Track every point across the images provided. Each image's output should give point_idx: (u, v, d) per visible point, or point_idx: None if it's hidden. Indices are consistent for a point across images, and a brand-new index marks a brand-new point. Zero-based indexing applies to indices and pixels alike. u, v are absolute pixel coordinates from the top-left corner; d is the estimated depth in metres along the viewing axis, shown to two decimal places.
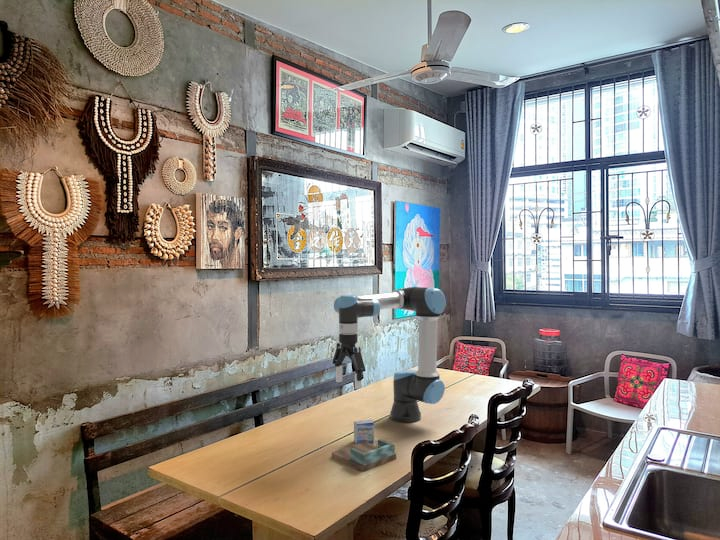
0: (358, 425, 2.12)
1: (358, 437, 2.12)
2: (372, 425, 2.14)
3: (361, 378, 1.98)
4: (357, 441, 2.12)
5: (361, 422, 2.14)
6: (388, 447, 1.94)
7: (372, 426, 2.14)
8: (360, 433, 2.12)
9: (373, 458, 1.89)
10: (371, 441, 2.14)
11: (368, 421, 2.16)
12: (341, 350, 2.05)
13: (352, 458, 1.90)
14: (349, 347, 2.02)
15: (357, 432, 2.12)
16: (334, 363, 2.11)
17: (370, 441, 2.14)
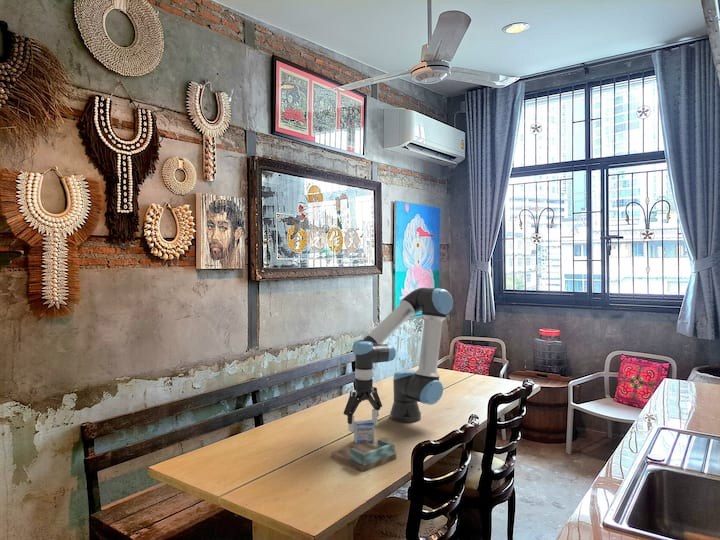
0: (358, 425, 2.12)
1: (358, 437, 2.12)
2: (372, 425, 2.14)
3: (349, 421, 2.09)
4: (357, 441, 2.12)
5: (361, 422, 2.14)
6: (388, 447, 1.94)
7: (372, 426, 2.14)
8: (360, 433, 2.12)
9: (373, 458, 1.89)
10: (371, 441, 2.14)
11: (368, 421, 2.16)
12: None
13: (352, 458, 1.90)
14: None
15: (357, 432, 2.12)
16: None
17: (370, 441, 2.14)
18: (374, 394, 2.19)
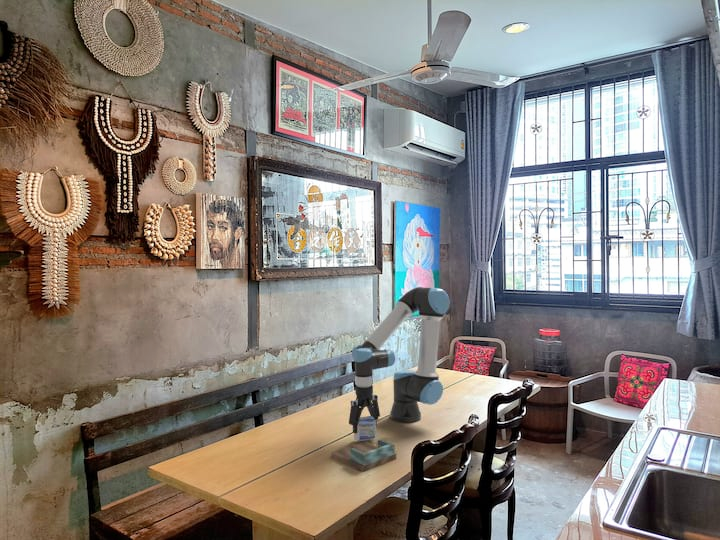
0: (359, 421, 2.13)
1: None
2: (373, 421, 2.14)
3: (354, 431, 2.11)
4: None
5: (362, 418, 2.14)
6: (388, 447, 1.94)
7: (373, 422, 2.14)
8: (361, 429, 2.13)
9: (373, 458, 1.89)
10: (372, 437, 2.14)
11: (368, 417, 2.16)
12: None
13: (352, 458, 1.90)
14: None
15: None
16: None
17: (371, 437, 2.14)
18: (374, 402, 2.19)
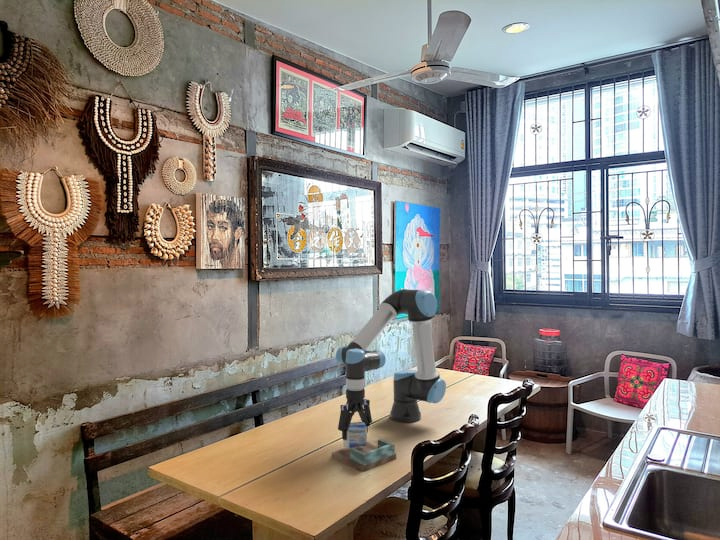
0: (349, 427, 1.98)
1: (349, 440, 1.98)
2: (364, 427, 2.00)
3: (344, 437, 1.96)
4: None
5: (352, 424, 2.00)
6: (388, 447, 1.94)
7: (364, 428, 2.00)
8: (351, 436, 1.98)
9: (373, 458, 1.89)
10: (363, 444, 2.00)
11: (359, 423, 2.01)
12: None
13: (352, 458, 1.90)
14: None
15: None
16: None
17: (362, 444, 2.00)
18: (366, 407, 2.04)
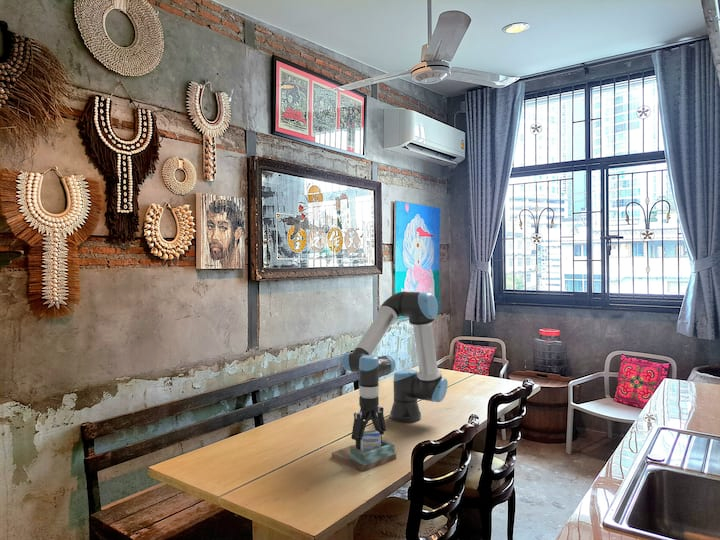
0: (362, 436, 1.92)
1: None
2: (378, 436, 1.94)
3: (357, 447, 1.91)
4: None
5: (366, 432, 1.94)
6: (388, 447, 1.94)
7: (378, 437, 1.94)
8: (365, 445, 1.93)
9: (373, 458, 1.89)
10: None
11: (373, 431, 1.96)
12: None
13: (352, 458, 1.90)
14: None
15: None
16: None
17: None
18: (379, 415, 1.98)
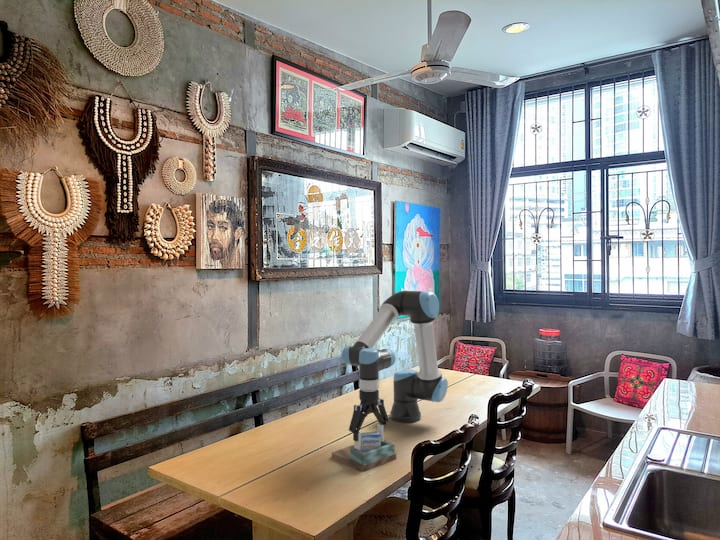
0: (363, 437, 1.92)
1: (363, 450, 1.92)
2: (379, 437, 1.94)
3: (355, 439, 1.89)
4: None
5: (366, 434, 1.94)
6: (388, 447, 1.94)
7: (379, 438, 1.94)
8: (365, 446, 1.92)
9: (373, 458, 1.89)
10: None
11: (374, 432, 1.95)
12: None
13: (352, 458, 1.90)
14: None
15: (362, 445, 1.92)
16: None
17: None
18: (380, 407, 1.98)
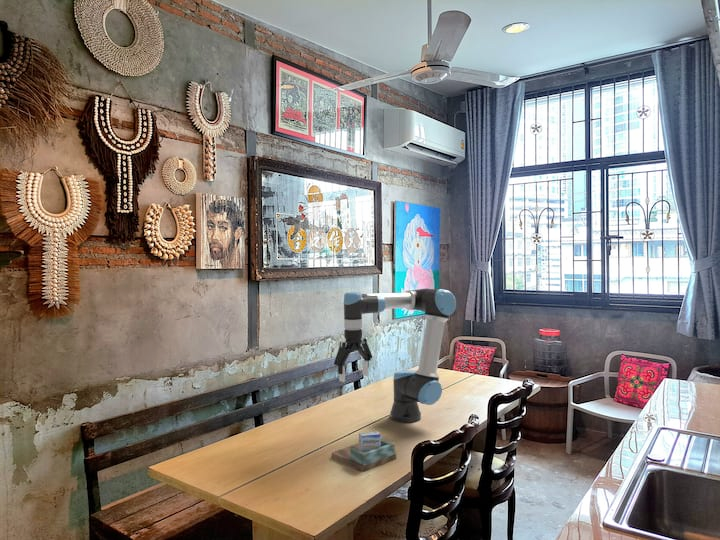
0: (363, 437, 1.92)
1: (363, 450, 1.92)
2: (379, 437, 1.94)
3: (340, 372, 2.07)
4: None
5: (366, 434, 1.94)
6: (388, 447, 1.94)
7: (379, 438, 1.94)
8: (365, 446, 1.92)
9: (373, 458, 1.89)
10: None
11: (374, 432, 1.95)
12: None
13: (352, 458, 1.90)
14: None
15: (362, 445, 1.92)
16: None
17: None
18: (364, 345, 2.17)
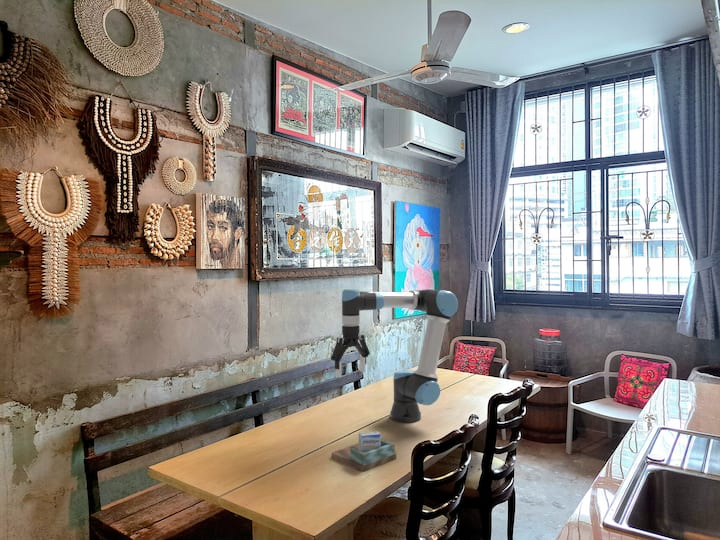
0: (363, 437, 1.92)
1: (363, 450, 1.92)
2: (379, 437, 1.94)
3: (336, 367, 2.10)
4: None
5: (366, 434, 1.94)
6: (388, 447, 1.94)
7: (379, 438, 1.94)
8: (365, 446, 1.92)
9: (373, 458, 1.89)
10: None
11: (374, 432, 1.95)
12: None
13: (352, 458, 1.90)
14: None
15: (362, 445, 1.92)
16: None
17: None
18: (361, 341, 2.20)
